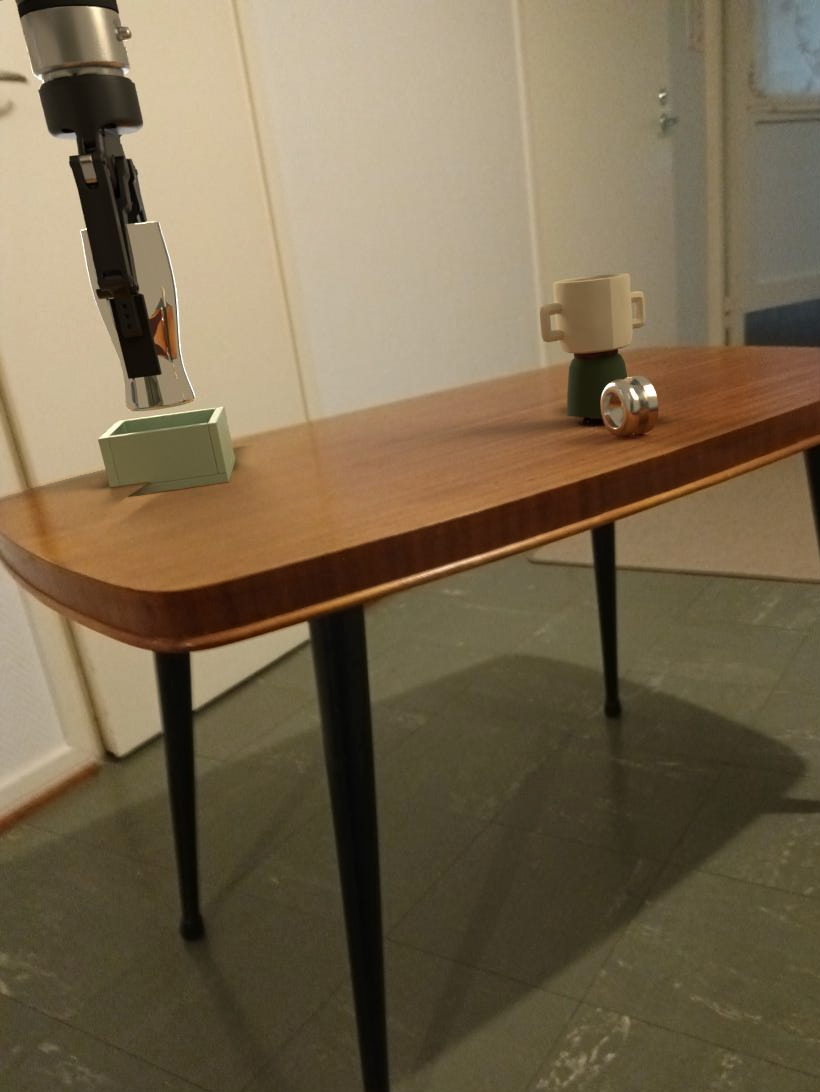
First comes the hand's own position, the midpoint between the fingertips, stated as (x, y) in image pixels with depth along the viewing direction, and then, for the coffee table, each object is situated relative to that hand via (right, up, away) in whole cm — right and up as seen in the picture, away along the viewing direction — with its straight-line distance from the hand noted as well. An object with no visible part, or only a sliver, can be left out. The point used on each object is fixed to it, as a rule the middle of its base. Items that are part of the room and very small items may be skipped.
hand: (153, 370), depth 88 cm
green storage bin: (+1, -9, +4) cm, 10 cm away
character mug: (+41, -3, +8) cm, 42 cm away
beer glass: (0, -3, +1) cm, 3 cm away
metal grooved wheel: (+42, -6, -1) cm, 43 cm away
